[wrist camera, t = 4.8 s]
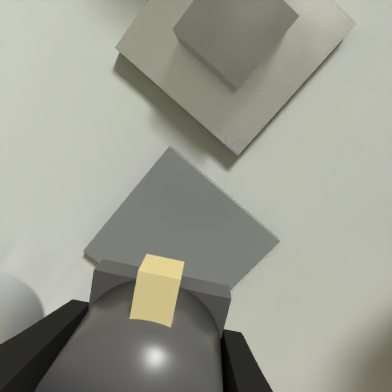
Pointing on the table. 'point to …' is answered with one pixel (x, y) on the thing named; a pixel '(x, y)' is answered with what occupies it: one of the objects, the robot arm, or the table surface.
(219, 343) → the dark grey rounded piece
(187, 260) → the coaster
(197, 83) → the grey square holder
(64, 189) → the table surface
